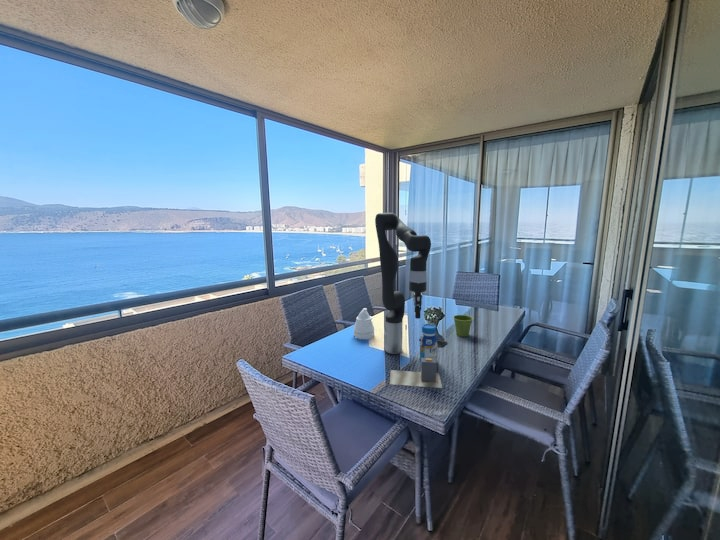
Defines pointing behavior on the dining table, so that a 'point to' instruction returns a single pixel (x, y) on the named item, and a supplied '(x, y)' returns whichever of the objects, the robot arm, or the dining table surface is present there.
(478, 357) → the dining table surface
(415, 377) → the board
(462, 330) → the plant pot
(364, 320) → the honey pot
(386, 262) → the robot arm
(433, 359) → the plug housing
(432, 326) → the beverage bottle
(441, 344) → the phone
